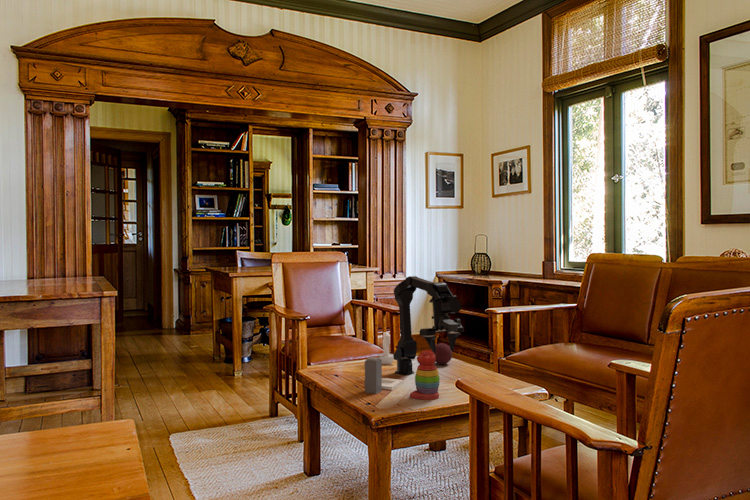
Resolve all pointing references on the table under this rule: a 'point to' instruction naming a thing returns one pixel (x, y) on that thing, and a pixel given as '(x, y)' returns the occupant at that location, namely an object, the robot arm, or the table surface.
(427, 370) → the stacking bear
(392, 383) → the socket
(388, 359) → the figurine
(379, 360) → the plug
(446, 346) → the decorative ball
